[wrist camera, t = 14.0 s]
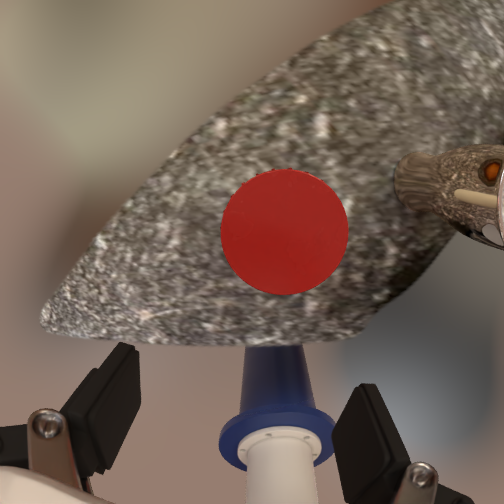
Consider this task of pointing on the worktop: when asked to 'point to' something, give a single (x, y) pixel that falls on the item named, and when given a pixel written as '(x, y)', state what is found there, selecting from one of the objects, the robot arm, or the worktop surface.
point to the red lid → (284, 231)
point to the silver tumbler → (458, 189)
